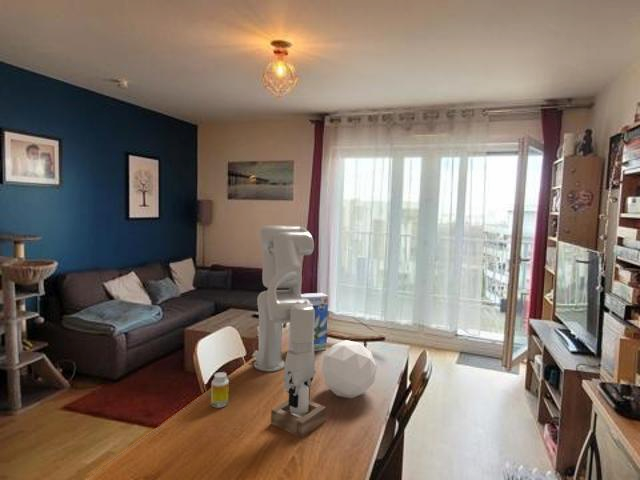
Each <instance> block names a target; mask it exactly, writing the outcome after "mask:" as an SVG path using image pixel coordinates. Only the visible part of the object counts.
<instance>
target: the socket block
mask: <svg viewBox="0 0 640 480" xmlns="http://www.w3.org/2000/svg"><path fill="white" fill-rule="evenodd" d="M326 411H327V407H326V406H324V405H321V404H320V403H317V402H314V401H311V400H309V404H308V412H307V413H303V414H294V413H291V412H290V405H289V399H287V400H285V401H284V402H282V403H280V404H279V405H277V406H275V407H273V408H271V410H270V413H271V414H270V424H271V425H274V426H275V427H276V428H279V429H282V430H283V431H286V432H288V433H290V434H292V435H294V436H296V437H299V438H301V439H303V438H304V437H306V436H307V435H308V434H309V433H311V432H313V430H315V429H316V428H318V427H319V426H321V425H322V424H323V423H324V422H326V416H327V415H326V414H327V413H326Z"/></svg>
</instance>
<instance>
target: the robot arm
mask: <svg viewBox="0 0 640 480" xmlns="http://www.w3.org/2000/svg"><path fill="white" fill-rule="evenodd" d="M258 236H259V239H258V240H259V244H260V247H261V249H262V254H263V258H262V276H261V279H262V284H263V286H264V287H265V288H267V290H264V291H261V292H260V293H259V294H258V296H257V300H256V301H257V309H258V349H257V350H255V351H254V352H253V353H252V355H251V356H252V357H253V358H256V359H255V361H254V362H253V366H254V368H255V369H256V370H259V371H262V372H278V371H280V370H282V369H284V370H283V382H284V383H283V386H282V389H283V390H285V391H286V392H287V394H288V400H289V405H290V406H292V407H294V408H297V407H298V395H297V392H298V387H299V385H300V384H302V383H304V385H307V386H308V388H309V400H310V397H311V396H310V394H311V393H310V392H311V388H312V382H313V380H314V377H315V376H316V370H315V369H316V367H315V351H314V349H313V348H314V323H315V309H314V308H313V305H312V303H311V302H310V301H309V300H308V299H301V294H302V283H303V278H302V271H303V267H302V260H301V257H300V256H309V255H312V254H313V252H314V249H315V242H314V241H315V240H314V238H313V236H312V234H311V233H310V231H309V230H307V229H306V228H305V227H304V226H299V225H264V226H263V227H261V228H260V230H259V235H258ZM288 323H289V332H288V333H289V335H288V337H289V340H288V350H287V352H286V356H285V361H284V360H283V358H282V346H283V345H282V344H283V324H288ZM292 386H294V387H295V388H294V390H293V389H292Z"/></svg>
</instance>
